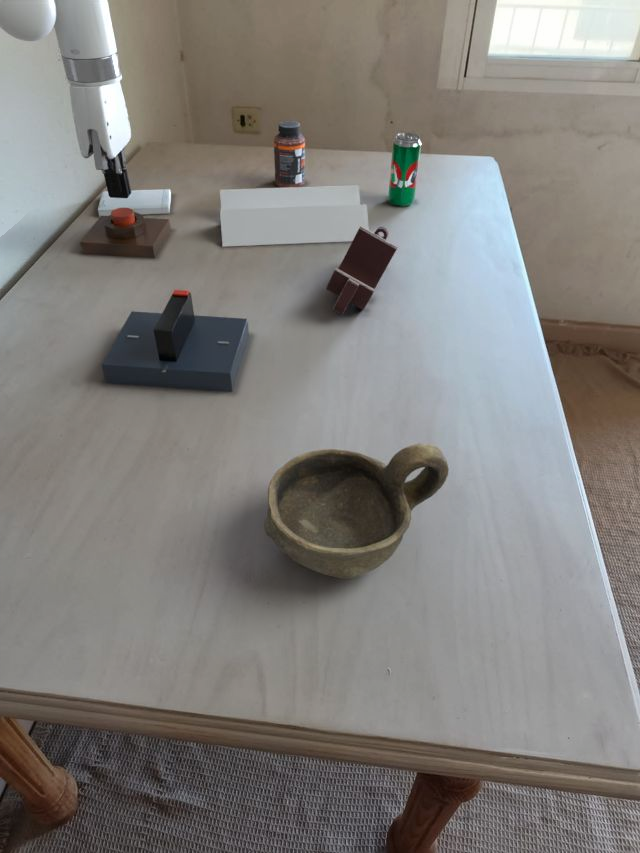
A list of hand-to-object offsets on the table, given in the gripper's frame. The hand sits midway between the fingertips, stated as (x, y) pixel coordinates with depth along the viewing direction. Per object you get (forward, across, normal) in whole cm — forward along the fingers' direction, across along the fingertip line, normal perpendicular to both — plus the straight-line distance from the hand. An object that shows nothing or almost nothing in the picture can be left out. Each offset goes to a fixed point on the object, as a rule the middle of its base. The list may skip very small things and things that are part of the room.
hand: (120, 195), depth 101 cm
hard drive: (+8, -14, -3) cm, 16 cm away
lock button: (+4, 0, 0) cm, 4 cm away
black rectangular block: (+5, +31, +17) cm, 36 cm away
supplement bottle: (+9, -28, +24) cm, 38 cm away
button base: (+8, 0, 0) cm, 8 cm away
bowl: (+8, +57, +41) cm, 71 cm away
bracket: (+8, +12, +40) cm, 42 cm away
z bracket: (+9, -9, +27) cm, 29 cm away
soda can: (+9, -22, +46) cm, 51 cm away
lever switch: (+8, +31, +17) cm, 36 cm away
